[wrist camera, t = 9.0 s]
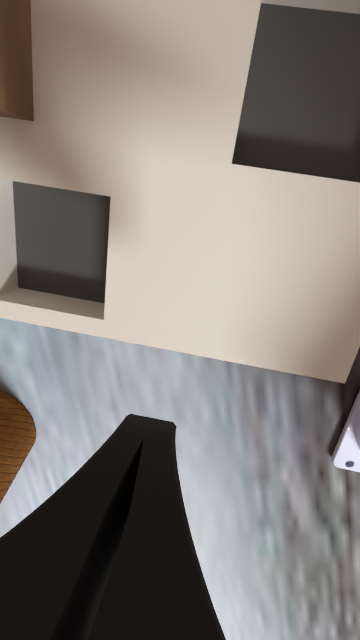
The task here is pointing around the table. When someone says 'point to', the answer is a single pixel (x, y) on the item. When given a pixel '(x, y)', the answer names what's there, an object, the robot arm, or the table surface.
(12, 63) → the walnut block
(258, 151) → the trap board
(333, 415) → the table surface
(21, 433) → the disposable coffee cup
